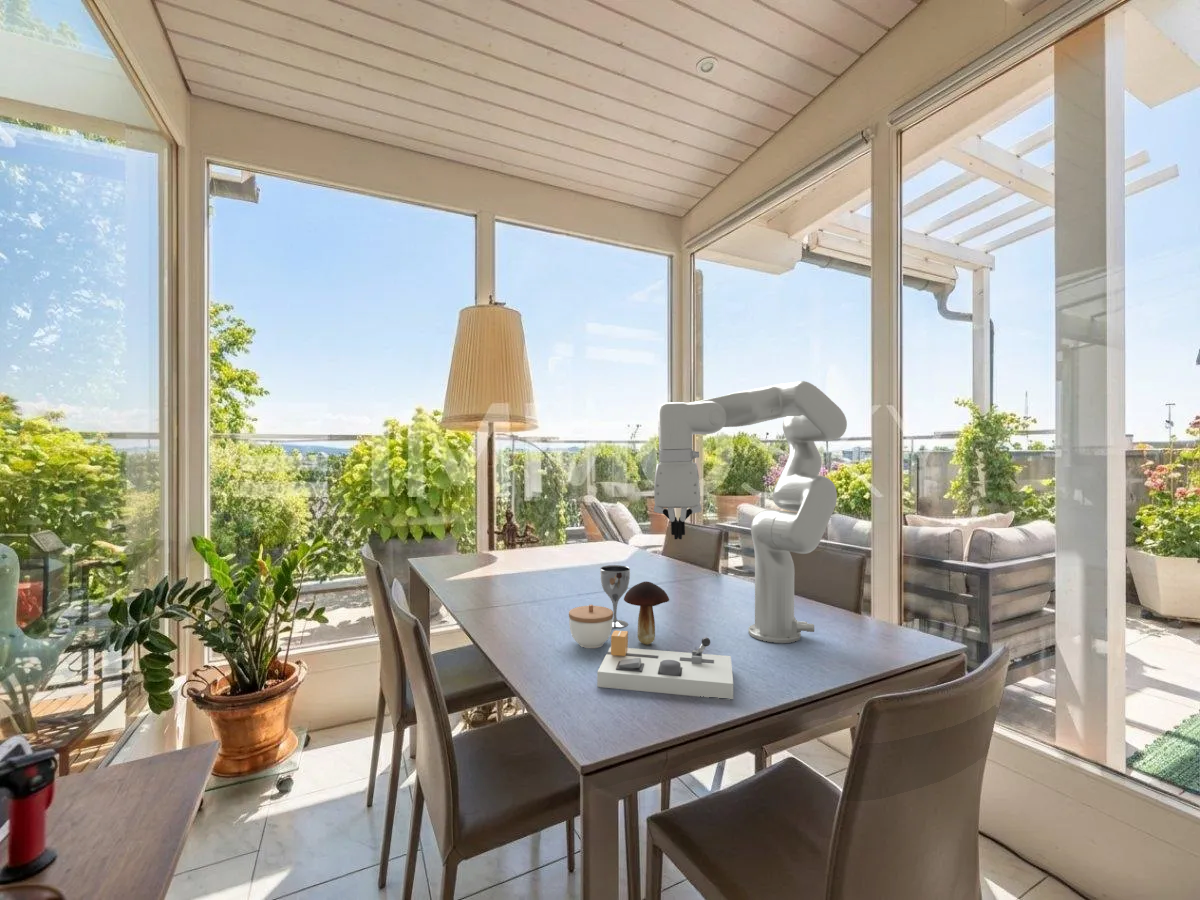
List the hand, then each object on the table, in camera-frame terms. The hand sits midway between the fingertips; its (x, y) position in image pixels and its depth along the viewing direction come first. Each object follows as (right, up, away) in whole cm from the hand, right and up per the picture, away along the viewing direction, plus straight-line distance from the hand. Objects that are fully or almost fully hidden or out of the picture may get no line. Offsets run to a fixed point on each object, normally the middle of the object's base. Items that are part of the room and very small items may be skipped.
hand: (678, 538), depth 122 cm
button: (-4, -26, -15) cm, 31 cm away
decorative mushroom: (-7, -27, +8) cm, 29 cm away
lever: (+2, -23, -10) cm, 25 cm away
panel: (-4, -27, -12) cm, 30 cm away
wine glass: (-14, -27, +23) cm, 38 cm away
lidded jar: (-20, -27, +8) cm, 35 cm away
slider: (-14, -23, -7) cm, 28 cm away
